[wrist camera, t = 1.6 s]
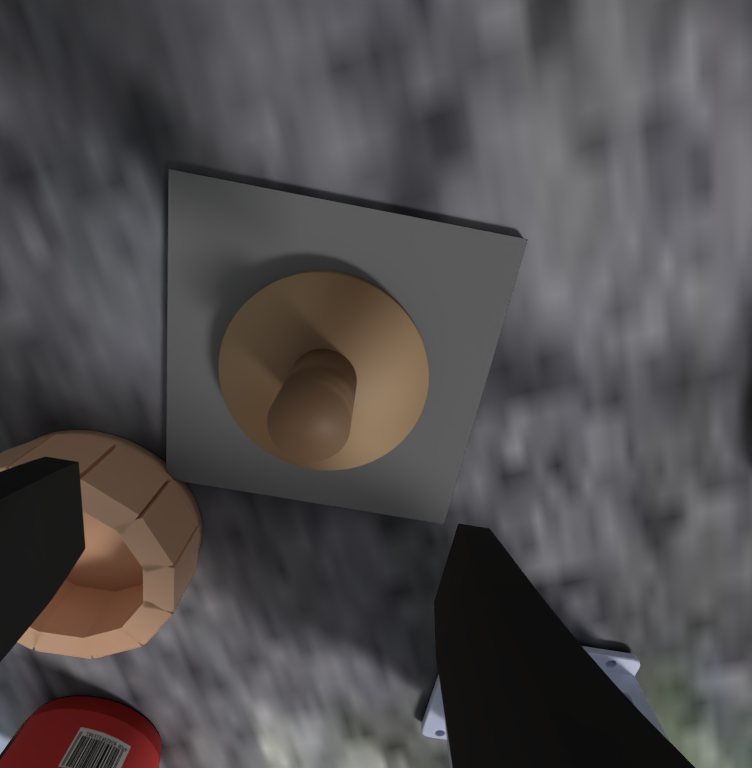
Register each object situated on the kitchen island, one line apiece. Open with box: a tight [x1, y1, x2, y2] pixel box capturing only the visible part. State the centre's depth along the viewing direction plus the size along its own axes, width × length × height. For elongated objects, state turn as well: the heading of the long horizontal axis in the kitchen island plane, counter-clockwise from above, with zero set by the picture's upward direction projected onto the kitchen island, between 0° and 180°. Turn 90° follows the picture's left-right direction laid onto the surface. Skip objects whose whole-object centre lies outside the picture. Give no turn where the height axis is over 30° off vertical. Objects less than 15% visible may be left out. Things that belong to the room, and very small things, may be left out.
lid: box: [219, 270, 429, 470], centre depth 15 cm, size 8×8×4 cm
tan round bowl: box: [0, 430, 203, 659], centre depth 19 cm, size 9×9×3 cm
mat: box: [166, 169, 528, 524], centre depth 17 cm, size 12×12×1 cm
